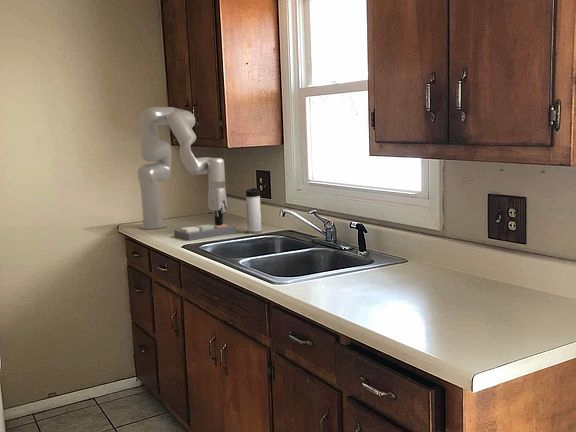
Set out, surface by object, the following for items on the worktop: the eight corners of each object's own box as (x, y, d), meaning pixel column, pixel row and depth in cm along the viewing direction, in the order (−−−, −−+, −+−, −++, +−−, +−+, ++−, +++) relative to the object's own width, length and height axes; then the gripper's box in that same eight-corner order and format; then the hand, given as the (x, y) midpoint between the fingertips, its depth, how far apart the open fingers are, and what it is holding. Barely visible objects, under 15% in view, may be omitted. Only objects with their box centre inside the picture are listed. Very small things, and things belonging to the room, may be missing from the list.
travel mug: (262, 230, 301) (260, 187, 298) (260, 233, 295) (258, 189, 292) (249, 231, 302) (246, 188, 299) (246, 233, 295) (244, 189, 292)
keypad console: (174, 236, 295) (174, 230, 295) (220, 229, 309) (219, 223, 309) (189, 240, 284) (188, 233, 284) (236, 233, 298) (235, 226, 298)
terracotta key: (210, 230, 302) (210, 225, 301) (222, 228, 305) (221, 223, 305) (217, 232, 297) (217, 227, 296) (228, 230, 300) (228, 225, 300)
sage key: (196, 231, 297) (195, 226, 297) (207, 229, 300) (207, 224, 300) (202, 232, 292) (202, 227, 292) (214, 230, 296) (213, 225, 295)
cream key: (181, 233, 292) (180, 228, 292) (193, 231, 296) (192, 226, 296) (187, 235, 288) (187, 229, 287) (199, 233, 291) (199, 227, 291)
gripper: (201, 184, 301) (203, 223, 304) (218, 187, 290) (220, 227, 292) (215, 183, 306) (217, 221, 309) (232, 185, 294) (234, 225, 297)
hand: (218, 224), depth 301 cm, fingers closed
